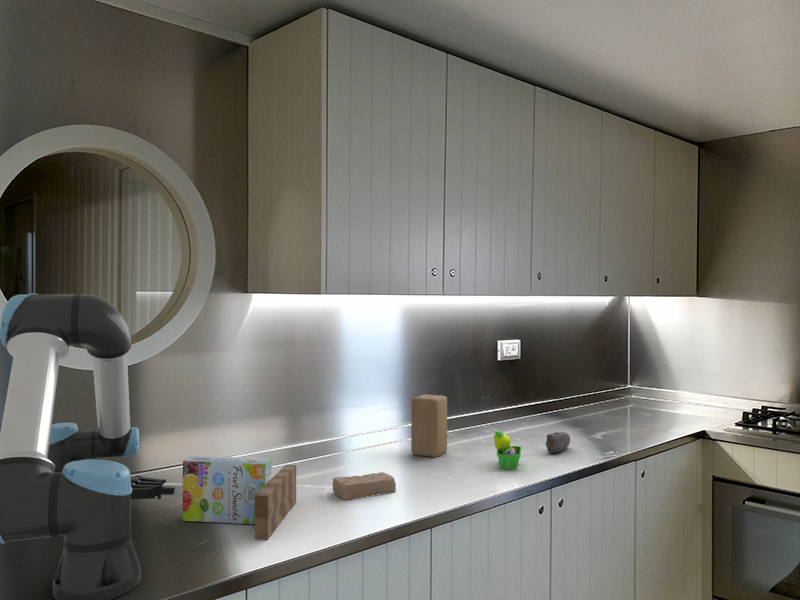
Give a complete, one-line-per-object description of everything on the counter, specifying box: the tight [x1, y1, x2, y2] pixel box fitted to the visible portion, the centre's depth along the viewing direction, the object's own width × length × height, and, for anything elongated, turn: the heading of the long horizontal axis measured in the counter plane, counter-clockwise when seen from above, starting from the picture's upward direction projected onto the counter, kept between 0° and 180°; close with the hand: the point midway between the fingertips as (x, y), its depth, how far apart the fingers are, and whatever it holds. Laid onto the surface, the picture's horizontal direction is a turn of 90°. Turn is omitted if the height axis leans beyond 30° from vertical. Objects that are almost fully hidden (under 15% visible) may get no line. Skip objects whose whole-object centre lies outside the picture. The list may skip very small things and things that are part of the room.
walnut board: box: [254, 464, 297, 541], centre depth 156 cm, size 26×3×10 cm, turn 175°
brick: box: [332, 471, 397, 501], centre depth 178 cm, size 17×8×5 cm, turn 119°
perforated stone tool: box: [545, 431, 571, 454], centre depth 226 cm, size 15×5×7 cm, turn 137°
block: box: [410, 393, 448, 458], centre depth 222 cm, size 10×10×20 cm
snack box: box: [181, 455, 273, 525], centre depth 155 cm, size 21×6×15 cm, turn 83°
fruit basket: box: [493, 430, 522, 470], centre depth 207 cm, size 11×9×11 cm
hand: (188, 489), depth 158 cm, fingers closed
